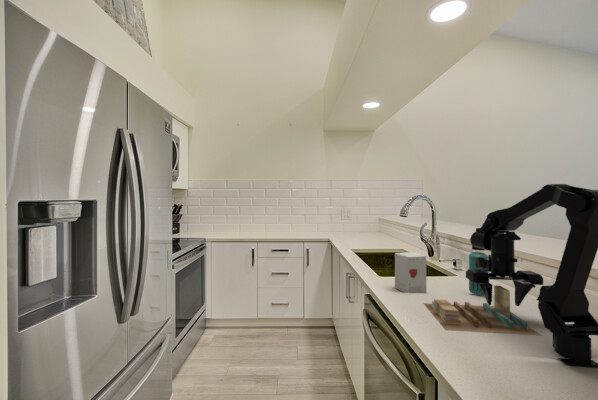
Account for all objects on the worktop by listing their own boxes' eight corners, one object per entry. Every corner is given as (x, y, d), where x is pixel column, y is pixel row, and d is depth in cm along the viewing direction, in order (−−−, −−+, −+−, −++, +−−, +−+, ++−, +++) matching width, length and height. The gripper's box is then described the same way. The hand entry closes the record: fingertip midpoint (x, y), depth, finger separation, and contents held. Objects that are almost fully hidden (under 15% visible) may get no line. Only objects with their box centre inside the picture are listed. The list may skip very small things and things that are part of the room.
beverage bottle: (469, 297, 103) (468, 244, 103) (468, 292, 109) (467, 242, 109) (490, 300, 100) (489, 245, 100) (487, 294, 106) (487, 243, 106)
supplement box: (407, 295, 107) (407, 256, 107) (394, 288, 115) (393, 252, 115) (427, 293, 109) (427, 255, 109) (413, 286, 117) (412, 251, 118)
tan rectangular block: (510, 321, 80) (509, 290, 80) (504, 321, 81) (503, 290, 81) (500, 314, 85) (499, 285, 85) (494, 314, 86) (494, 285, 86)
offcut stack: (460, 324, 79) (460, 312, 79) (445, 323, 79) (445, 311, 79) (444, 308, 90) (444, 297, 90) (431, 307, 91) (431, 297, 91)
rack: (542, 339, 72) (542, 327, 72) (445, 333, 75) (445, 322, 75) (498, 309, 92) (498, 300, 92) (423, 306, 95) (423, 297, 95)
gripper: (519, 249, 89) (519, 297, 89) (457, 248, 92) (458, 294, 92) (544, 256, 78) (545, 310, 78) (474, 254, 81) (474, 307, 81)
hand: (503, 305), depth 82 cm, fingers open, 7 cm apart
